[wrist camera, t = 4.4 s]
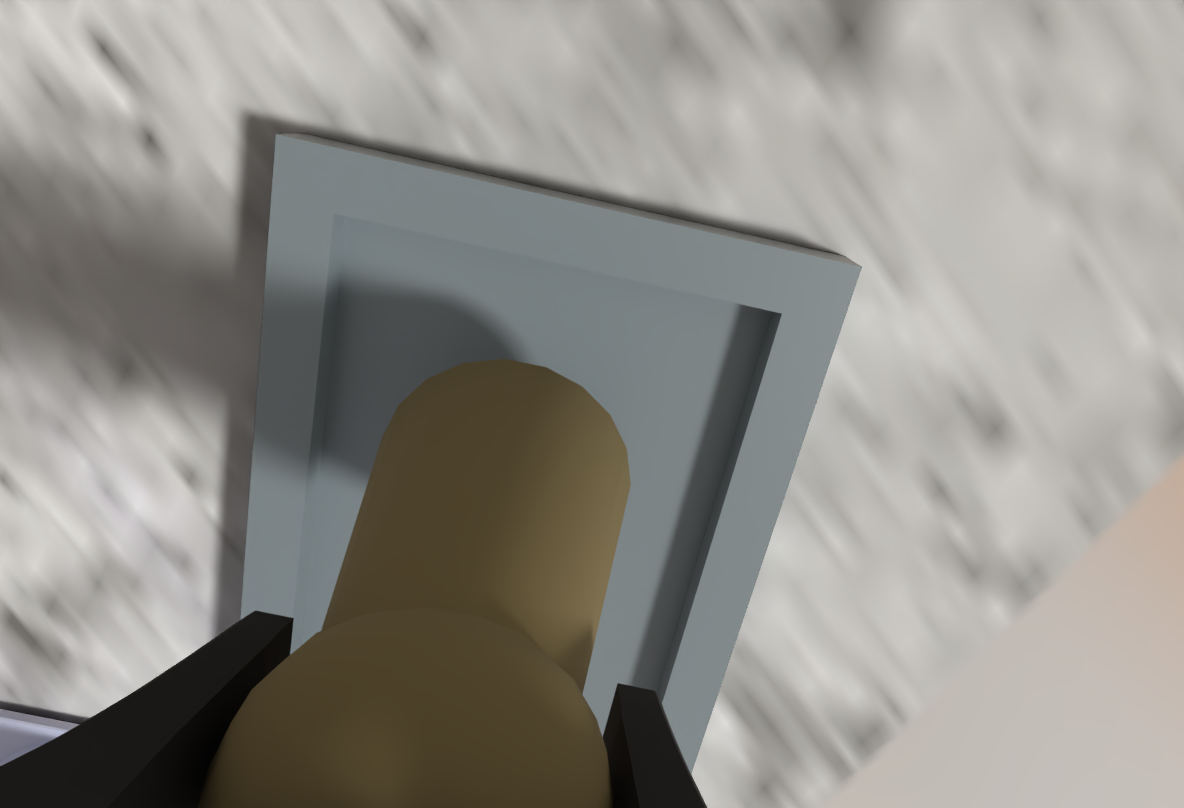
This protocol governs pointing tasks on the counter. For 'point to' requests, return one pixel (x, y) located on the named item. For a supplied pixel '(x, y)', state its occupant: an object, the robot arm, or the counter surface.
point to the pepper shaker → (453, 615)
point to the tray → (550, 339)
